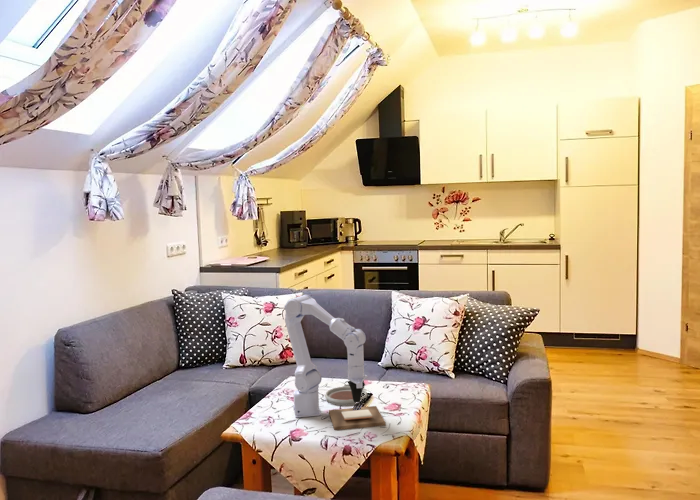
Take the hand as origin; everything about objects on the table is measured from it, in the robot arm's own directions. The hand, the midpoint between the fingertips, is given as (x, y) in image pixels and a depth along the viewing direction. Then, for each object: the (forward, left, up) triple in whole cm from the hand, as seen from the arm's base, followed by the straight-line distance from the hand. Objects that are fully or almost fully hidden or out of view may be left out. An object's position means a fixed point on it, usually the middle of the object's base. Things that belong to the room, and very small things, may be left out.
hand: (356, 401), depth 218 cm
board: (0, +2, -8) cm, 8 cm away
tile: (0, +2, -5) cm, 5 cm away
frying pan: (+2, +30, -8) cm, 31 cm away
